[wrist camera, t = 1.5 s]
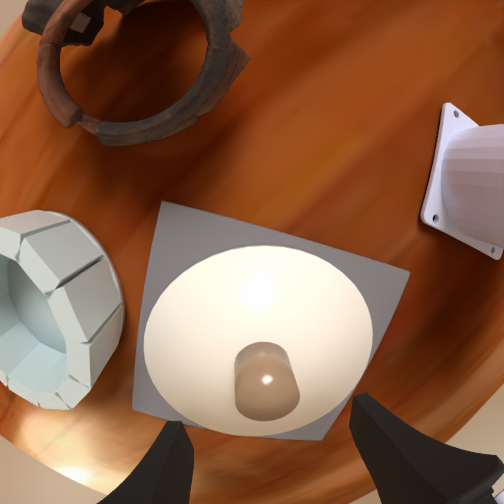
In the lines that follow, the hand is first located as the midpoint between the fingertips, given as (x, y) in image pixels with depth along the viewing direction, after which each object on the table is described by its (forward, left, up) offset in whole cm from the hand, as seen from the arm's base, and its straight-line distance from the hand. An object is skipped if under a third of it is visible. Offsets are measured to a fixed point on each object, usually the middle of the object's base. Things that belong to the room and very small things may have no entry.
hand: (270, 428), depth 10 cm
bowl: (+13, 0, -6) cm, 14 cm away
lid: (0, 0, -5) cm, 5 cm away
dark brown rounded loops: (+11, -15, -6) cm, 19 cm away
